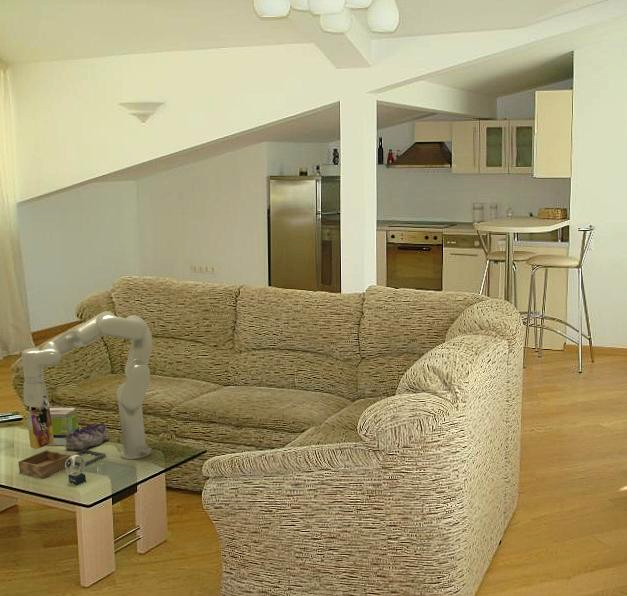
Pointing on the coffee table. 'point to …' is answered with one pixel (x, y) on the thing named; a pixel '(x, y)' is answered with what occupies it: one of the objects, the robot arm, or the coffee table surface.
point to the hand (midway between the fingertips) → (39, 421)
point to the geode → (87, 437)
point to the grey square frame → (100, 455)
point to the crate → (43, 464)
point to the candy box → (39, 429)
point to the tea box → (63, 423)
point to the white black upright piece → (77, 476)
